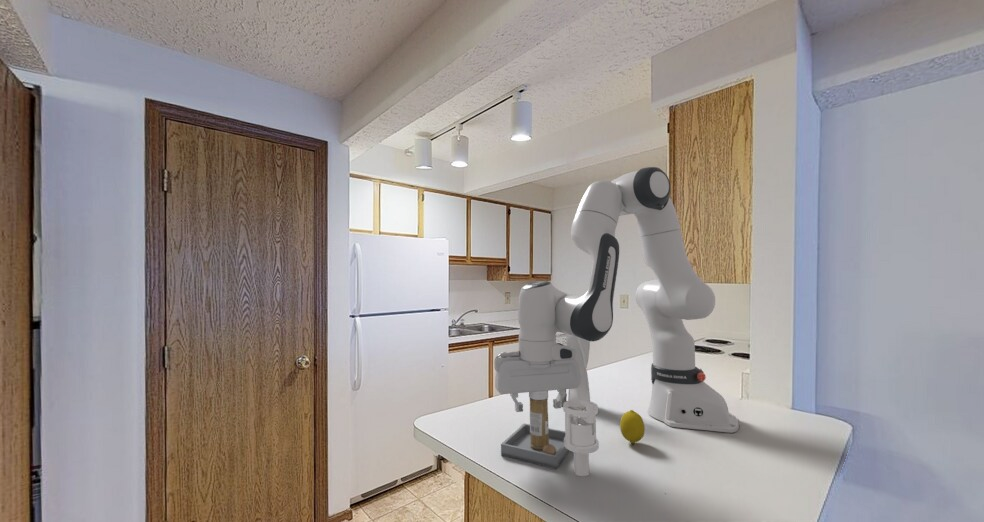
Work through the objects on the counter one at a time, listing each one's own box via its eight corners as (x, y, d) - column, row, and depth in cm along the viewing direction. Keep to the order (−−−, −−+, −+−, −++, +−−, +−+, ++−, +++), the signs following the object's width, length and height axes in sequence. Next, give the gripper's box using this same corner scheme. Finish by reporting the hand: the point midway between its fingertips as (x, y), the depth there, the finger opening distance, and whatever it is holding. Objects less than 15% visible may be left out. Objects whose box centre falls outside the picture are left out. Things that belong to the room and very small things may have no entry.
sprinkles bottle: (553, 447, 89) (552, 389, 90) (538, 452, 87) (537, 393, 87) (540, 440, 93) (539, 384, 93) (525, 445, 91) (524, 388, 91)
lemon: (644, 440, 94) (643, 407, 94) (645, 450, 89) (644, 415, 89) (620, 437, 96) (619, 405, 96) (620, 447, 90) (619, 413, 91)
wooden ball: (558, 457, 85) (558, 443, 85) (553, 463, 82) (553, 449, 82) (545, 454, 86) (545, 440, 86) (540, 460, 83) (540, 446, 83)
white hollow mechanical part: (577, 485, 75) (576, 407, 75) (557, 468, 81) (556, 397, 81) (606, 476, 77) (605, 402, 78) (584, 461, 84) (583, 392, 84)
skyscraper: (571, 399, 124) (570, 313, 125) (595, 404, 120) (593, 315, 120) (560, 407, 118) (558, 316, 118) (585, 413, 113) (583, 318, 114)
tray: (574, 443, 92) (574, 433, 92) (556, 468, 81) (556, 457, 81) (524, 433, 99) (524, 423, 99) (501, 455, 87) (500, 444, 87)
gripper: (497, 355, 85) (498, 418, 85) (582, 350, 89) (583, 410, 89) (491, 350, 91) (492, 408, 91) (571, 345, 95) (572, 401, 95)
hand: (538, 409), depth 90 cm, fingers open, 8 cm apart
